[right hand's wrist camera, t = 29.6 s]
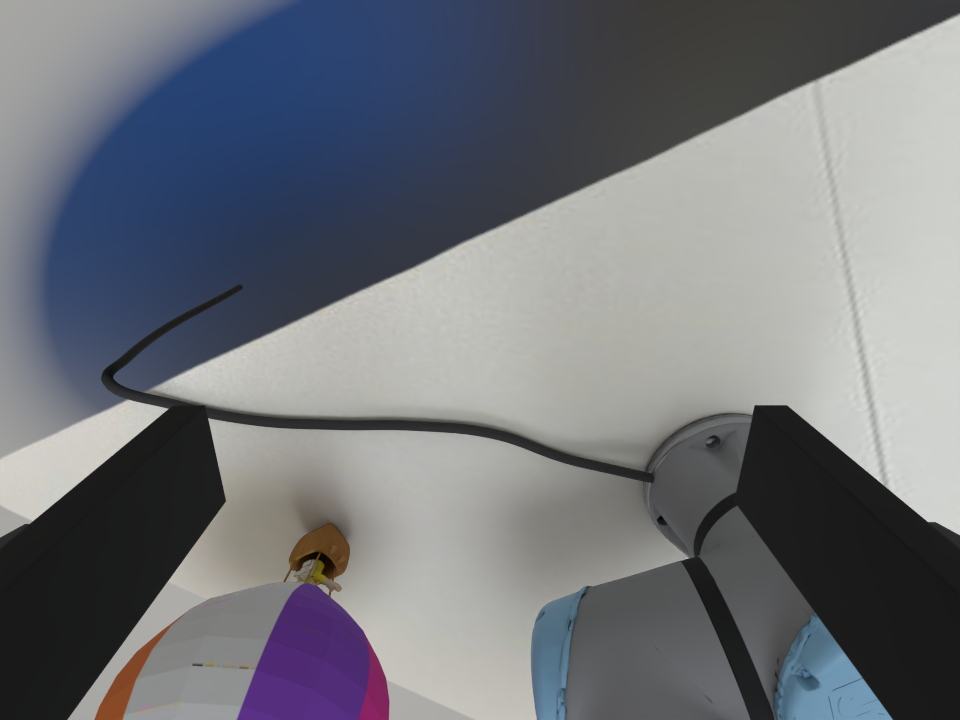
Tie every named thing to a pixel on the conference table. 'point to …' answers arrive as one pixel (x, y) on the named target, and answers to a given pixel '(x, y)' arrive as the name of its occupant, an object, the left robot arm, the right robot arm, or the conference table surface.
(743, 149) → the conference table surface
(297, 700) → the toy
